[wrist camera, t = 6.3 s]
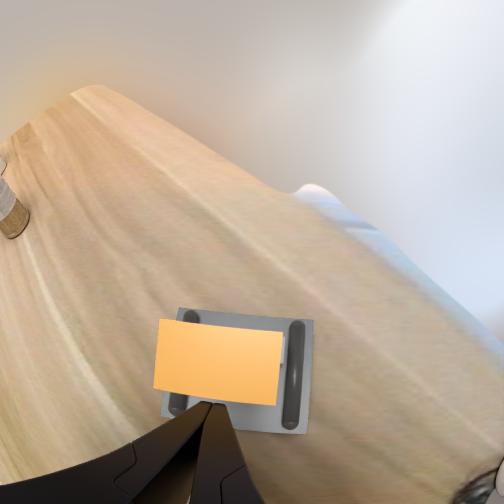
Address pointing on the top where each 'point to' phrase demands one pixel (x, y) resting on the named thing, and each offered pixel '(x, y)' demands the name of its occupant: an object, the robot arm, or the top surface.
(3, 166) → the milk carton
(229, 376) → the lever
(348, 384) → the top surface
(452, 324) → the top surface
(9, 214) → the sprinkles bottle
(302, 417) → the grey railed base plate
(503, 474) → the drinking glass
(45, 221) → the top surface
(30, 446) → the top surface
